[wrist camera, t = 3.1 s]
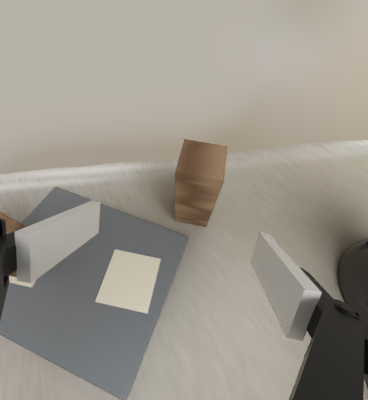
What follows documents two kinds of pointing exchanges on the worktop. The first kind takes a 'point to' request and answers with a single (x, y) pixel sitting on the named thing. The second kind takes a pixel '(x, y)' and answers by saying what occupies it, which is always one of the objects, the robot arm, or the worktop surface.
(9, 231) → the built post
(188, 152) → the post
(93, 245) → the board
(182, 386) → the worktop surface
